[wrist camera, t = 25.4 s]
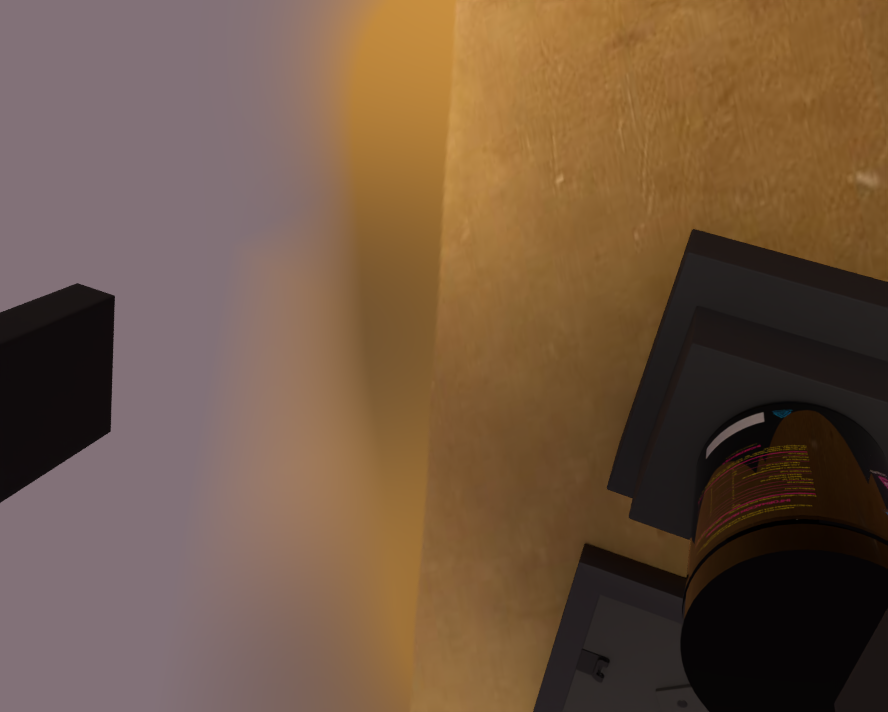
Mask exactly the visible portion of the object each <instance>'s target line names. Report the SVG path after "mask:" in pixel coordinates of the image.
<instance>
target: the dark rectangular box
mask: <svg viewBox="0 0 888 712" xmlns="http://www.w3.org/2000/svg"><path fill="white" fill-rule="evenodd" d="M697 306H701V307H704V308H708V309H711V310H715V311H718V312H721V313H725V314H728V315H732V316H735V317H738V318H742V319H745V320H748V321H752V322H755V323H759V324H762V325H765V326H769V327H772V328H776V329H779V330H782V331H786V332H789V333H793V334H796V335H799V336H803V337H806V338H810V339H813V340H816V341H820V342H823V343H827V344H830V345H833V346H837V347H840V348H844V349H847V350H850V351H854V352H857V353H860V354H864V355H867V356H871V357H874V358H877V359H881V360H884V361H888V282H885V281H881V280H878V279H874V278H870V277H867V276H863V275H859V274H856V273H852V272H848V271H845V270H841V269H837V268H834V267H830V266H827V265H823V264H819V263H816V262H812V261H808V260H805V259H801V258H797V257H794V256H790V255H786V254H783V253H779V252H776V251H772V250H768V249H765V248H761V247H757V246H754V245H750V244H746V243H743V242H739V241H736V240H732V239H728V238H725V237H721V236H717V235H714V234H710V233H706V232H703V231H699V230H695V229H693V230H692V232H691V235H690V238H689V241H688V243H687V246H686V249H685V252H684V255H683V258H682V261H681V264H680V267H679V270H678V273H677V276H676V279H675V282H674V285H673V287H672V290H671V293H670V296H669V299H668V302H667V305H666V308H665V311H664V314H663V317H662V320H661V323H660V326H659V329H658V332H657V334H656V337H655V340H654V343H653V346H652V349H651V352H650V355H649V358H648V361H647V364H646V367H645V370H644V373H643V376H642V378H641V381H640V384H639V387H638V390H637V393H636V396H635V399H634V402H633V405H632V408H631V411H630V414H629V417H628V420H627V423H626V425H625V428H624V431H623V434H622V437H621V440H620V443H619V446H618V450H617V453H616V457H615V460H614V464H613V467H612V471H611V474H610V478H609V481H608V485H607V489H608V490H611V491H613V492H616V493H619V494H622V495H625V496H628V497H630V498H633V495H634V490H635V486H636V481H637V477H638V472H639V468H640V463H641V460H642V457H643V455H644V452H645V449H646V446H647V443H648V441H649V438H650V435H651V432H652V429H653V427H654V424H655V421H656V418H657V415H658V413H659V410H660V407H661V404H662V401H663V399H664V396H665V393H666V390H667V387H668V385H669V382H670V379H671V376H672V373H673V371H674V368H675V365H676V362H677V359H678V357H679V354H680V351H681V348H682V345H683V343H684V340H685V337H686V334H687V331H688V329H689V326H690V323H691V320H692V317H693V315H694V312H695V309H696V307H697Z"/></svg>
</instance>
